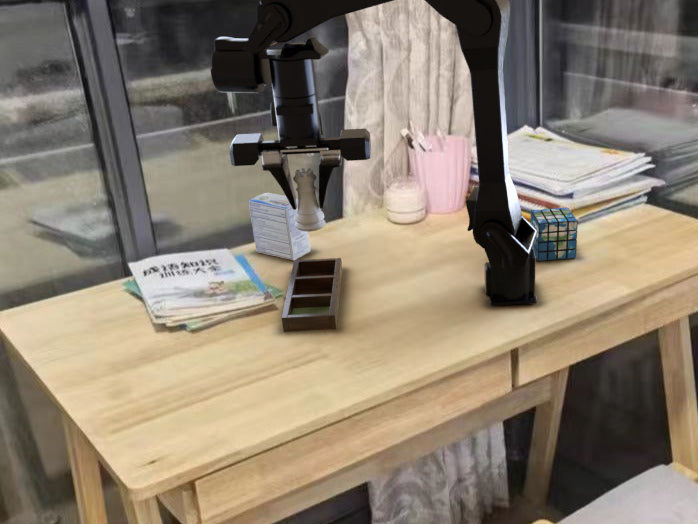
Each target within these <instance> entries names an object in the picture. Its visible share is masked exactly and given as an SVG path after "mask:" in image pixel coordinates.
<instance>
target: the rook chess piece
mask: <svg viewBox="0 0 698 524" xmlns="http://www.w3.org/2000/svg"><path fill="white" fill-rule="evenodd" d="M306 170H307V171H306ZM317 178H318V177H317V175H316V174H315V173H314V169H311V168H309V167H308V168H307V169H306V168H305V167H304V168H301V169H296V170H295V171H294V176H293V178H292V181H294V182H295V184H296V188H295V190H296V192H297V198H298V209H297V210H296V211H297V213H296V214H295V216H294V219H295V221H296V223H295V227H296V228H297V229H298V230H300V231H306V232H308V233H310V232H316V231H320V230H322V229H323V228H324V227H325V225H326V223H327V222H326V220H325V218H326V216H325V214H324V212H323V210H322V209H320V205H319V204H318V203H319V202H318V199H317V194H316V190H317V186H315V181H316V180H317Z"/></svg>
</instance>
